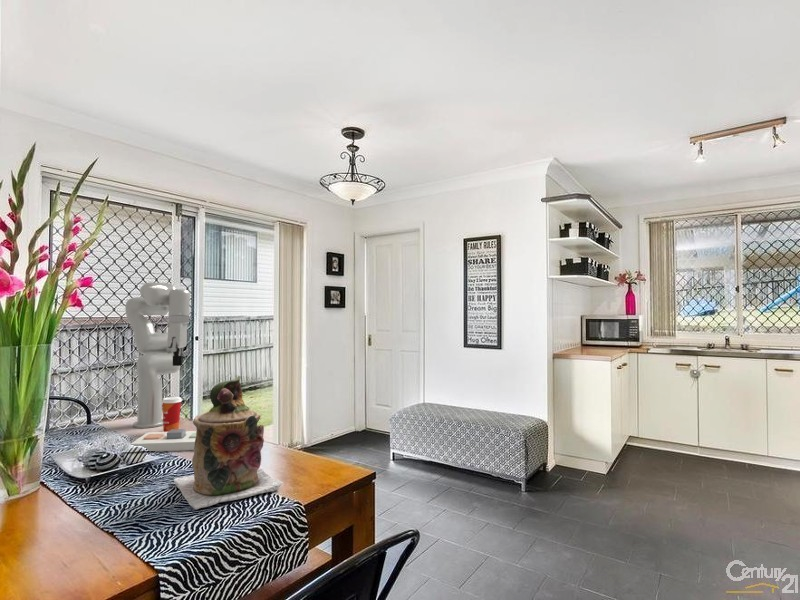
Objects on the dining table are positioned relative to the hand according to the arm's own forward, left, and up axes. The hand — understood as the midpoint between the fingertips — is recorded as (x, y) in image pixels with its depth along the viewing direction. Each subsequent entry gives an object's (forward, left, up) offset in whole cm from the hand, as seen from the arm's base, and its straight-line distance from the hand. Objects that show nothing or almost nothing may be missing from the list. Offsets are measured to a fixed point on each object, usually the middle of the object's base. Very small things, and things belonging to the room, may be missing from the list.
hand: (177, 365), depth 180 cm
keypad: (+9, +3, -29) cm, 31 cm away
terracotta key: (+9, -5, -28) cm, 30 cm away
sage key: (+9, +11, -28) cm, 31 cm away
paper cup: (-11, -5, -29) cm, 32 cm away
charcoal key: (+9, +3, -26) cm, 28 cm away
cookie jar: (+55, +31, -29) cm, 69 cm away
